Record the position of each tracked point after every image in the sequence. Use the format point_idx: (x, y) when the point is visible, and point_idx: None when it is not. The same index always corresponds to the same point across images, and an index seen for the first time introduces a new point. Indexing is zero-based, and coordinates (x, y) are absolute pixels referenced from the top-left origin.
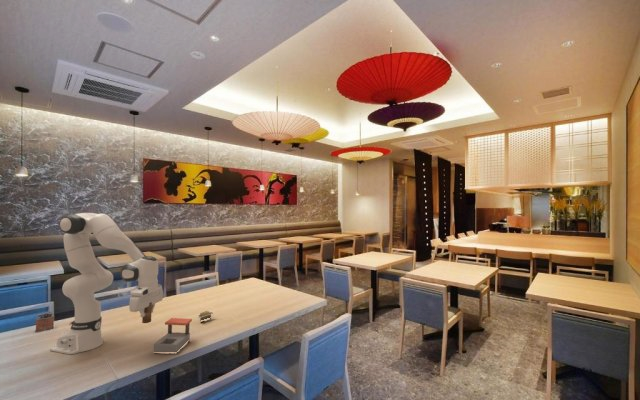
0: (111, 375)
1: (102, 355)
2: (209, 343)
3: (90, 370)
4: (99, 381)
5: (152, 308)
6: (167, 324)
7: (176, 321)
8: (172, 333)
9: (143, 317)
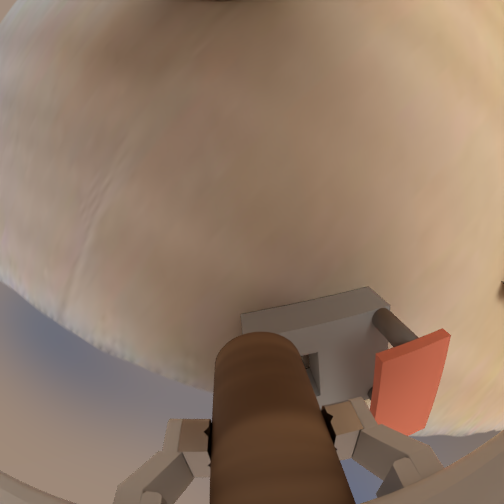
0: (58, 285)
1: (157, 85)
2: None
3: (51, 171)
4: (28, 277)
5: (363, 461)
6: (375, 369)
7: (396, 403)
8: (377, 333)
9: (213, 407)
